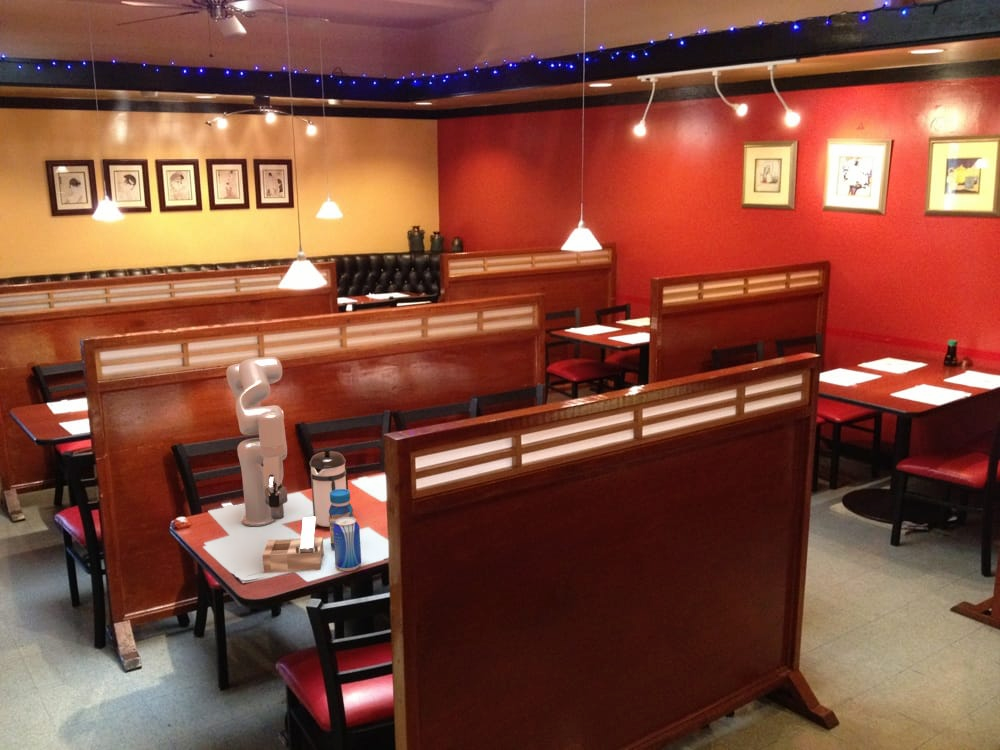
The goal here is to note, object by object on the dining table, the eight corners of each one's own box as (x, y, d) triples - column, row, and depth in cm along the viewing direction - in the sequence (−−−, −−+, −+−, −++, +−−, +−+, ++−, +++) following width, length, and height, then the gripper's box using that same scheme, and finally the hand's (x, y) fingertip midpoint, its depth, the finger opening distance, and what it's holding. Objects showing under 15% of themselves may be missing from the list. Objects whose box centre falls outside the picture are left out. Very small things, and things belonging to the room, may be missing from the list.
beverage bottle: (360, 544, 292) (357, 490, 288) (343, 553, 285) (340, 498, 281) (342, 539, 297) (339, 486, 292) (325, 548, 290) (321, 493, 285)
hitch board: (269, 556, 284) (268, 535, 282) (323, 553, 286) (322, 532, 284) (263, 572, 272) (261, 550, 270) (320, 569, 274) (318, 547, 272)
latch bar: (303, 519, 282) (303, 516, 281) (315, 519, 283) (315, 516, 282) (300, 553, 272) (299, 550, 271) (313, 553, 273) (312, 550, 272)
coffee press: (358, 528, 306) (354, 450, 299) (314, 536, 300) (309, 455, 293) (349, 512, 322) (344, 436, 315) (306, 518, 316) (301, 442, 309)
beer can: (332, 563, 278) (330, 518, 274) (357, 559, 281) (355, 514, 278) (338, 574, 270) (335, 527, 267) (364, 569, 274) (361, 523, 270)
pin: (268, 513, 278) (266, 486, 276) (290, 512, 279) (288, 485, 276) (264, 522, 271) (262, 494, 269) (287, 520, 272) (284, 493, 270)
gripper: (265, 442, 278) (269, 493, 282) (255, 459, 261) (260, 513, 265) (288, 441, 278) (292, 492, 282) (280, 458, 262) (284, 511, 266)
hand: (276, 501), depth 274 cm, fingers closed on pin, 7 cm apart
